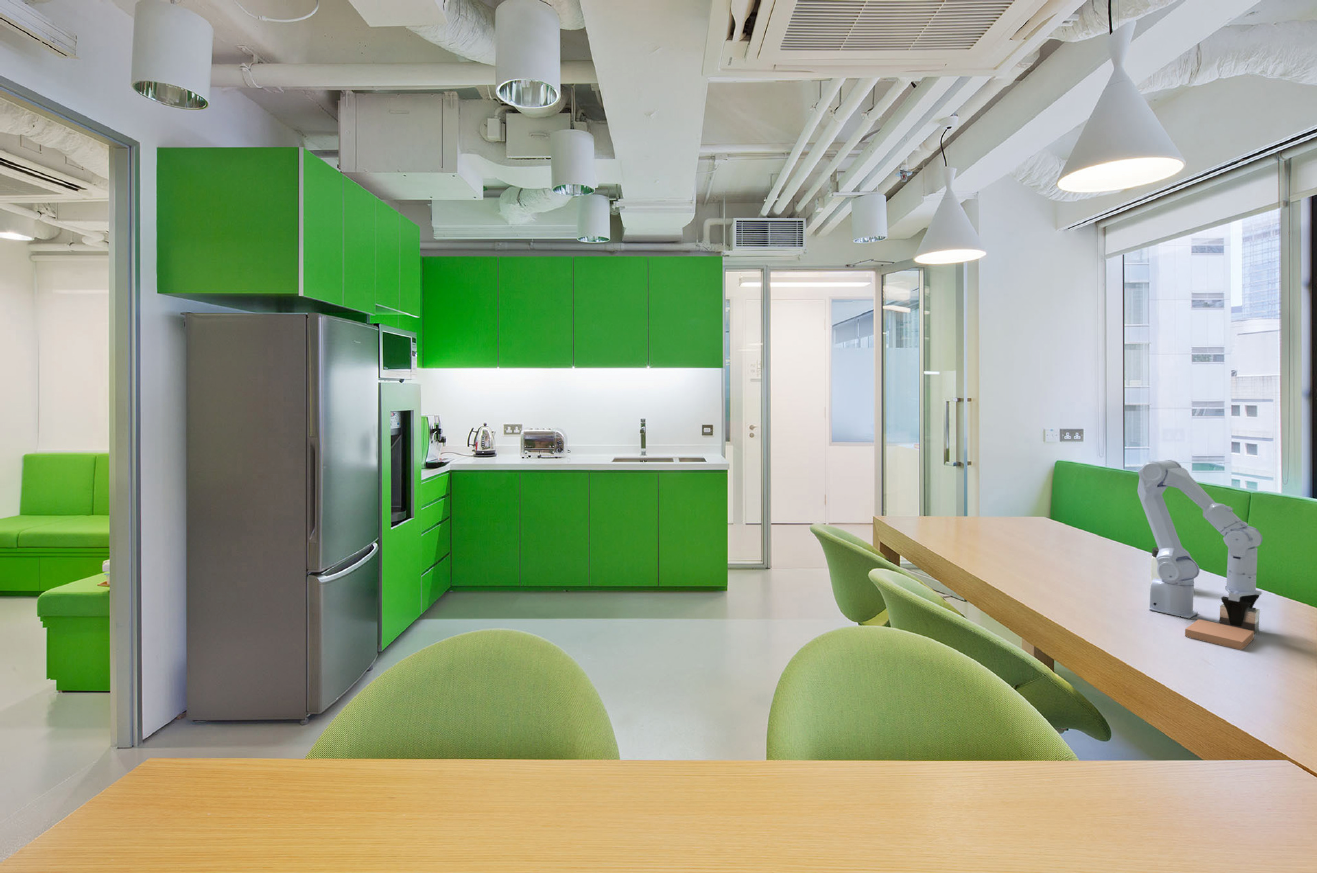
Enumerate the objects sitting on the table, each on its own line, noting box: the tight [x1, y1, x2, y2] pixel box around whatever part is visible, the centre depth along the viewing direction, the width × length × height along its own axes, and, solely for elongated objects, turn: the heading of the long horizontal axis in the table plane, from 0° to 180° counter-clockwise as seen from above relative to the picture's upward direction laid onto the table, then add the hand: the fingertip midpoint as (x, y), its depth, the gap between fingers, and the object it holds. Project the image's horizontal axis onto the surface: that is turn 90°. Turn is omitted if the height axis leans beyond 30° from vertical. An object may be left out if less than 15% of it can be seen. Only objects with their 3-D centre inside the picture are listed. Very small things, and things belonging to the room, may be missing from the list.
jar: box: [1149, 546, 1161, 585], centre depth 204 cm, size 9×8×12 cm
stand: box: [1184, 618, 1255, 651], centre depth 160 cm, size 11×12×2 cm
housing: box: [1218, 603, 1261, 636], centre depth 166 cm, size 7×4×6 cm, turn 36°
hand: (1239, 622), depth 166 cm, fingers open, 7 cm apart
